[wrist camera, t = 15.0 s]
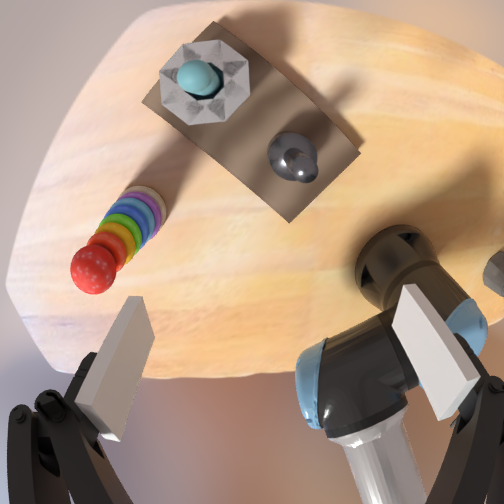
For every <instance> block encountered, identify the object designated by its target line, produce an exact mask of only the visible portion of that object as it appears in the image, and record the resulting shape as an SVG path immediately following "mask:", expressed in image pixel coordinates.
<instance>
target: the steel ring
mask: <svg viewBox="0 0 504 504" xmlns="http://www.w3.org/2000/svg"><path fill="white" fill-rule="evenodd" d="M190 60H202V61H204V62H206V63H207V64H209V66H210V67H211V68H216V69H217V70H219V71H220V72H221V73H223V75H224V88H223V89H222V90H221V91H220V92H219V93H218V94H217V95H216V96H215V97H214V99H207V100H200V99H199V98H197V97H196V96H195V95H193V94H192V93H191V92H187V91H185V90H184V89H182V88H181V87H180V86H179V84H178V81H177V73H178V70H179V69H180V67H181V66H182V65H183V64H184V63H186V62H188V61H190ZM159 75H160V90H161V103H162V105H163V106H164V107H166V108H167V109H168V110H170V111H171V112H172V113H174V114H175V115H176V116H177V117H179V118H180V119H181V120H183V121H184V122H185V123H186V124H188V125H195V124H204V123H214V122H225V121H227V120H228V119H229V118H230V117H231V116H232V115H233V114H234V112H235V111H236V110H237V109H238V108H239V107H240V106H241V105H242V104H243V103H244V102H245V101H246V100H247V99H248V98H249V97H250V84H249V66H248V60H247V59H245V58H244V57H243V56H242V55H240V54H239V53H238V52H236V51H235V50H234V49H232V48H231V47H230V46H228V45H227V44H226V43H224V42H223V41H221V40H211V41H202V42H194V43H187V44H183V45H182V46H181V47H180V48H179V49H178V50H177V51H176V52H175V54H174V55H173V56H172V57H171V58H170V59H169V60H168V62H167V63H166V64H165V65H164V66H163V67H162V69H161V70H160V71H159Z"/></svg>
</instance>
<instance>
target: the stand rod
mask: <svg viewBox="0 0 504 504" xmlns="http://www.w3.org/2000/svg"><path fill="white" fill-rule="evenodd" d="M267 157H268V160H269V163H270V165H271V167H272V169H273V171H274V172H275V173H276V174H277V175H278V176H279V177H281V178H283V179H285V180H288V181H299V182H301V183H310V182H312V181H314V180H315V179H316V177H317V176H318V171H319V170H318V166H317V158H318V157H317V151H316V148H315V146H314V144H313V143H312V142H311V141H310V140H309V139H308V138H306V137H304V136H302V135H300V134H298V133H296V132H292V131H285V132H281V133H279V134H277V135H275V136H274V137H273V138H272V139H271V141H270V142H269V144H268V147H267Z"/></svg>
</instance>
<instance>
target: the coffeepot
mask: <svg viewBox="0 0 504 504" xmlns="http://www.w3.org/2000/svg"><path fill="white" fill-rule="evenodd" d="M483 281H484V285H486V286H487V287H489V288H490V289H491V290H493V291H494V292H496V293H497V294H499V295H500V296H502V297H504V253H503V252H498V253H496V254H495V255H494V256H493V257H492V258H491V259H490V260H489V262H488V263H487V265H486V267H485V269H484V273H483Z"/></svg>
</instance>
